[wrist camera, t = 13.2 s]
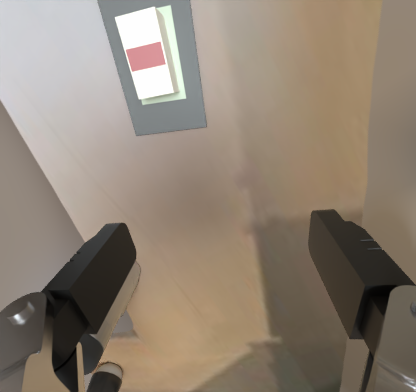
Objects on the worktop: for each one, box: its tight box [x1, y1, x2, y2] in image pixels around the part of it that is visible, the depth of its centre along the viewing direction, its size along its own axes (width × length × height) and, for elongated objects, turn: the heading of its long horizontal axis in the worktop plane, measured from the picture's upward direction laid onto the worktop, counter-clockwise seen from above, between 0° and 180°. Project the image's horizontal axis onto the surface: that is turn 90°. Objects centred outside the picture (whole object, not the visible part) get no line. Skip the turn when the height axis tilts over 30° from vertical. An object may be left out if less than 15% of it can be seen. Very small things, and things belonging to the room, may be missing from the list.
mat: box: [97, 0, 207, 136], centre depth 31 cm, size 20×12×1 cm, turn 8°
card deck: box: [115, 7, 180, 99], centre depth 29 cm, size 5×9×4 cm, turn 10°
